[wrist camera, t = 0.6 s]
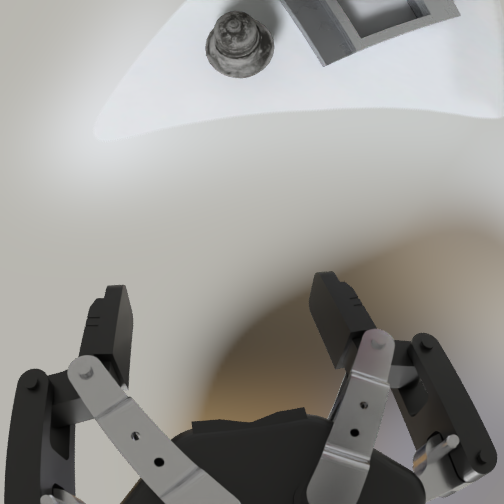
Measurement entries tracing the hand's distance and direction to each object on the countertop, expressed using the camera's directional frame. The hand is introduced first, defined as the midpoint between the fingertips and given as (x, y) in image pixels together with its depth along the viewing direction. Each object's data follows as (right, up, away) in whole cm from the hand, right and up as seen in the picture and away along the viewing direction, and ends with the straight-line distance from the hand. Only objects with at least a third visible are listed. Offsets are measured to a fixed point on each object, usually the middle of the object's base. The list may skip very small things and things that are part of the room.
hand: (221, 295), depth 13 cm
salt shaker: (0, +21, +13) cm, 25 cm away
